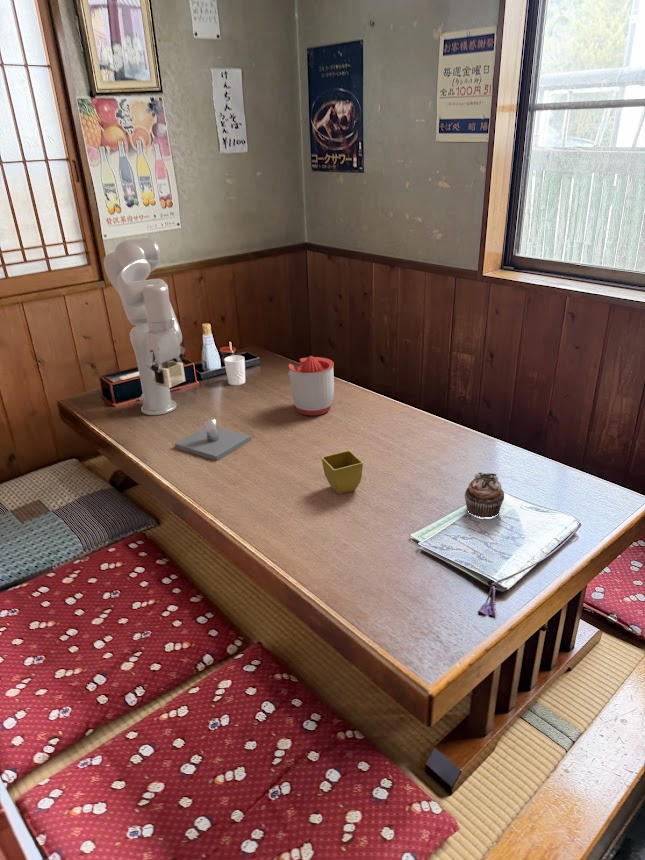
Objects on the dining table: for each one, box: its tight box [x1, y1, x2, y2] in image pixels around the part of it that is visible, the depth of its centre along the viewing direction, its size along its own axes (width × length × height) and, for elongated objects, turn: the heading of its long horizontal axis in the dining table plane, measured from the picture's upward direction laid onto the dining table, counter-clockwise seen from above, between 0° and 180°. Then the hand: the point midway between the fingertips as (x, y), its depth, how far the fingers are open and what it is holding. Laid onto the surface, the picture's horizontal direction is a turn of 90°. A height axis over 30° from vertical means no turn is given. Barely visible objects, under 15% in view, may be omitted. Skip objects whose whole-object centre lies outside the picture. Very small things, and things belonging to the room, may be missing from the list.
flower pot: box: [321, 450, 364, 495], centre depth 172 cm, size 9×9×9 cm
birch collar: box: [152, 360, 186, 389], centre depth 202 cm, size 7×7×6 cm
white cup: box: [223, 354, 246, 386], centre depth 250 cm, size 8×8×10 cm
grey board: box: [174, 426, 252, 462], centre depth 203 cm, size 18×16×2 cm
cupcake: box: [464, 472, 505, 517], centre depth 159 cm, size 10×10×10 cm
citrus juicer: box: [287, 355, 335, 416], centre depth 221 cm, size 16×17×20 cm
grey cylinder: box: [204, 417, 219, 442], centre depth 201 cm, size 4×4×7 cm
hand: (169, 378), depth 203 cm, fingers closed on birch collar, 7 cm apart
